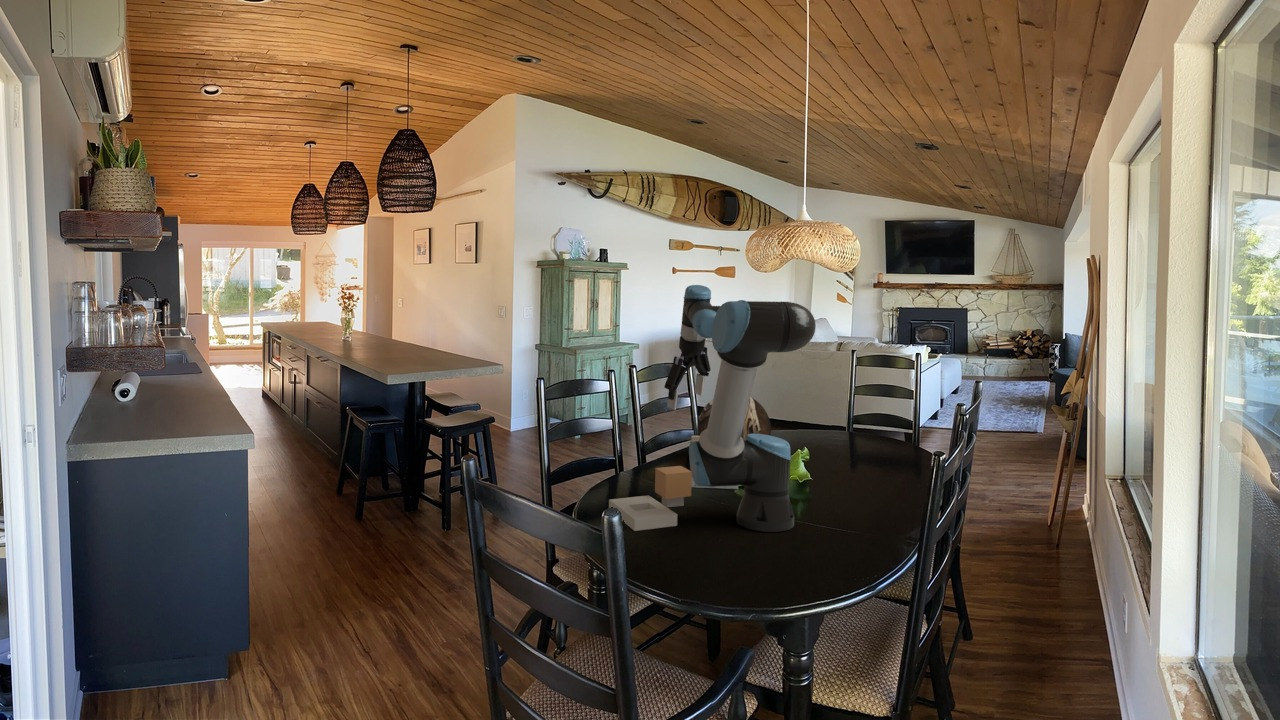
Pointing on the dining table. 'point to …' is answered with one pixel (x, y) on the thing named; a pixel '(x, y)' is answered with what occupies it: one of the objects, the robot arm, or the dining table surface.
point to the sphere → (753, 422)
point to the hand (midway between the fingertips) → (685, 400)
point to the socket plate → (644, 513)
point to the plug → (673, 485)
